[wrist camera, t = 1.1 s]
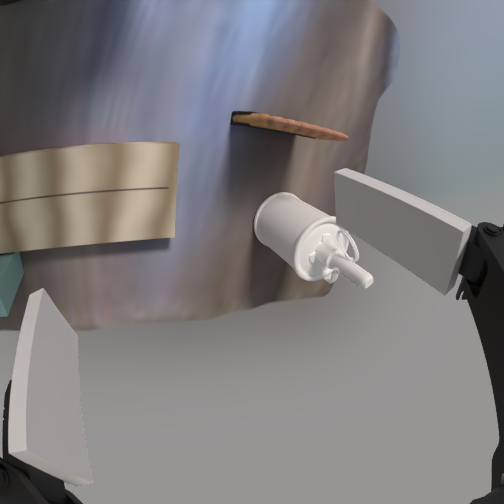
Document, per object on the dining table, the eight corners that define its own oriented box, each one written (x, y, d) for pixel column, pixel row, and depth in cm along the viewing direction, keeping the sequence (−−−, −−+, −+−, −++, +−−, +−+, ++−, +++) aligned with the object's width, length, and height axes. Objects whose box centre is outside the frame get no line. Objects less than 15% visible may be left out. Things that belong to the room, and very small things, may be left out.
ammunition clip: (230, 124, 35) (276, 130, 26) (232, 111, 34) (280, 112, 25) (295, 135, 40) (352, 147, 31) (297, 123, 39) (355, 132, 30)
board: (-32, 250, 24) (-38, 258, 22) (-45, 166, 19) (-53, 170, 17) (170, 230, 38) (174, 237, 36) (175, 142, 33) (179, 143, 31)
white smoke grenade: (244, 211, 42) (332, 280, 26) (293, 181, 44) (394, 230, 28) (267, 261, 48) (344, 336, 33) (309, 232, 50) (395, 291, 34)
